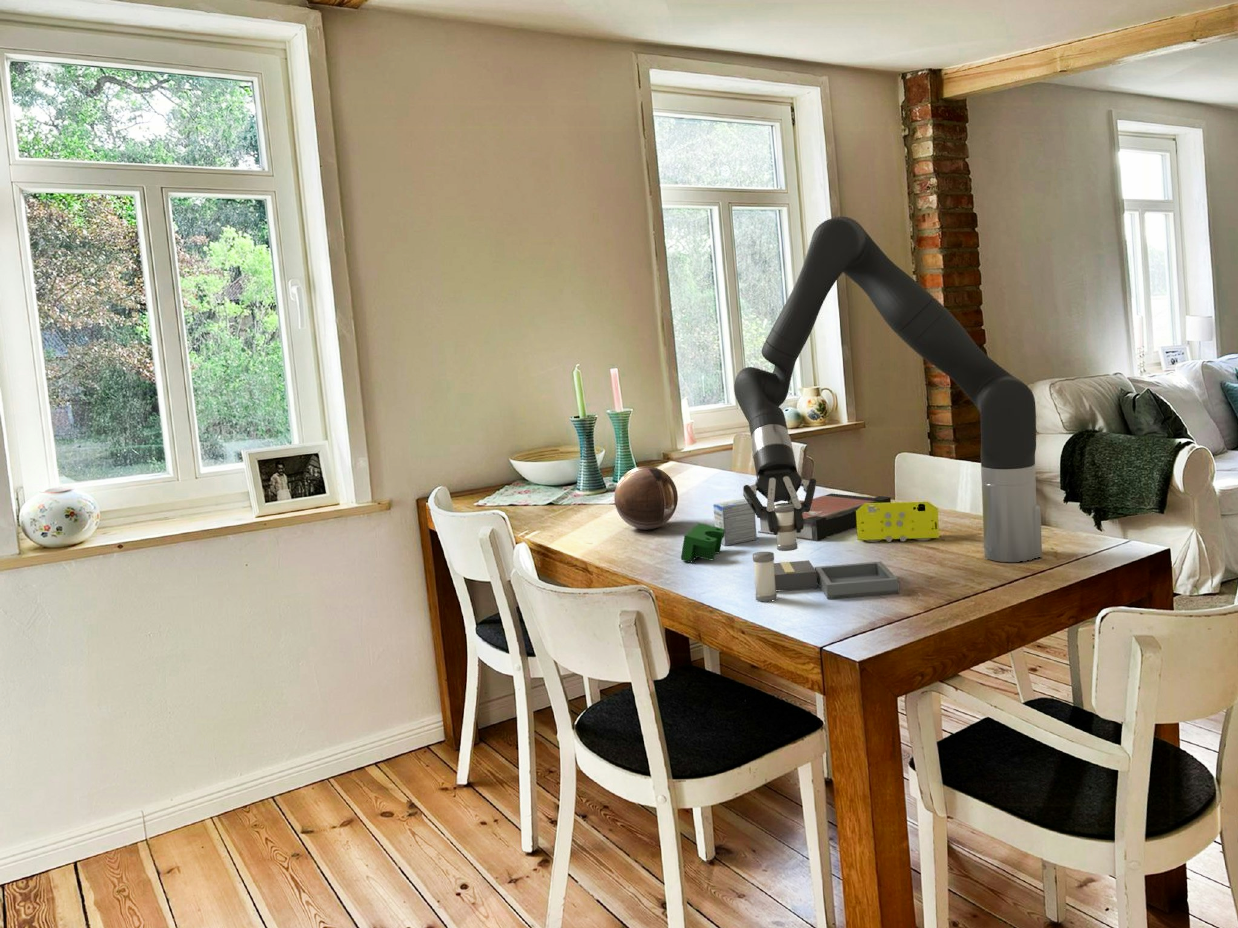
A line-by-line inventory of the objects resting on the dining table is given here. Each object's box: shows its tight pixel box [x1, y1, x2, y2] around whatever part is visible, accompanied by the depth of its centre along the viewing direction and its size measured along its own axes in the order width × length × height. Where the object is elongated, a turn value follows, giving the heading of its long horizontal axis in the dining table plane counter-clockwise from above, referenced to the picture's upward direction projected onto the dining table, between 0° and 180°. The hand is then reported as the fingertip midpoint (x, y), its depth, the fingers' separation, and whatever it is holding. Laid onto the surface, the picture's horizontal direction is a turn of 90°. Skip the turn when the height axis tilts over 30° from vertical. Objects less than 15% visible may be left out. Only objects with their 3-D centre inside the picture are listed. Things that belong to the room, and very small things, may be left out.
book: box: [756, 493, 892, 542], centre depth 222 cm, size 26×18×5 cm
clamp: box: [680, 522, 725, 563], centre depth 203 cm, size 12×6×9 cm
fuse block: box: [774, 559, 818, 591], centre depth 178 cm, size 9×8×3 cm
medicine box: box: [713, 498, 758, 547], centre depth 213 cm, size 8×4×9 cm, turn 111°
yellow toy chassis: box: [856, 500, 940, 543], centre depth 202 cm, size 16×6×8 cm, turn 75°
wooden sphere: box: [613, 465, 679, 531], centre depth 233 cm, size 15×15×15 cm
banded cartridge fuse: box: [774, 502, 798, 552], centre depth 177 cm, size 4×4×8 cm
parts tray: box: [813, 561, 900, 600], centre depth 173 cm, size 12×12×2 cm
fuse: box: [752, 551, 778, 602], centre depth 170 cm, size 4×4×8 cm
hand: (787, 531), depth 175 cm, fingers closed on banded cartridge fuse, 3 cm apart
